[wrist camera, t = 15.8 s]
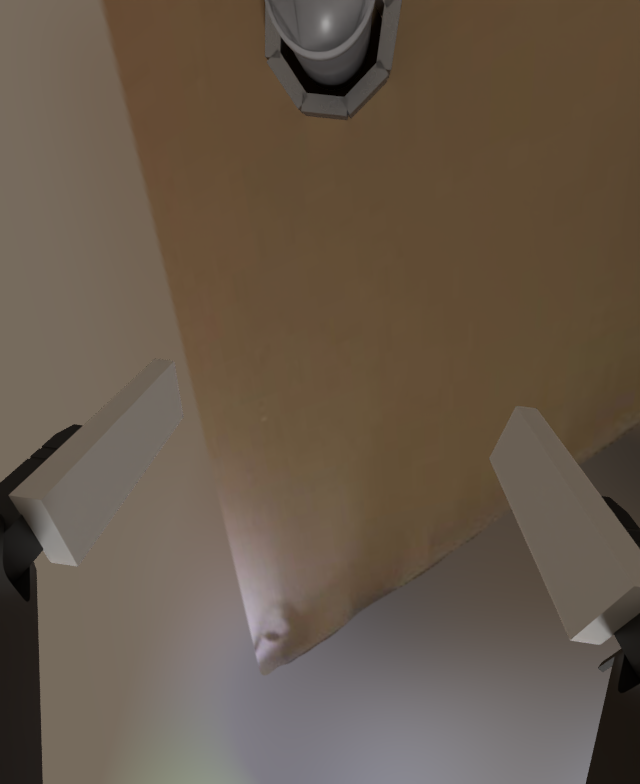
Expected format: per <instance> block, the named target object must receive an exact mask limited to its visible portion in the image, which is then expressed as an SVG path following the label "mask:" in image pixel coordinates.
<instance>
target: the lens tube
mask: <svg viewBox="0 0 640 784" xmlns="http://www.w3.org/2000/svg"><path fill="white" fill-rule="evenodd" d="M375 1H376V0H265V4H266V7H267V10H268V13H269V15H270V18H271V20H272V22H273V24H274V26H275V28H276V30H277V31H278V33H279V35H280V36H281V38H282V39H283V40H284V42H285V43H286V44H287V45H288V46H289V47H290V49H292V50H293V52H294V53H295V55H296V57H297V59H298V60H299V62H300V64H301V66H302V67H303V69H304V71H305V73H306V74H307V76H308V77H309V79H310V80H311V81H312V82H313V83H314V84H316V85H317V86H319V87H320V88H323V89H325V90H339V89H342V88H345V87H346V86H348V85H349V84H351V83H352V82H353V81H354V80H355V79H356V78H357V77H358V75H359V74H360V72H361V71H362V69H363V67H364V65H365V62H366V60H367V56H368V52H369V46H370V33H371V21H372V12H373V9H374V5H375Z"/></svg>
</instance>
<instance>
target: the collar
mask: <svg viewBox="0 0 640 784" xmlns="http://www.w3.org/2000/svg"><path fill="white" fill-rule="evenodd" d="M401 2H402V0H376V1H375V6H376V8H377V10H378V11H379V13H380V15H381V17H382V24H381V31H380V39H379V46H378V54H377V61H376V64H375V65H374V66H373V67H372V68H371V69H370V70H369V71H368V72H367V73H366V74H365V75H364V76H363V78H362V79H361V80H360V81H359V82H358V83H357V84H356V85H355V86H354V87H353V88H352V89H351V90H350V91H349V92H348V94H347V95H346V96H345V97H341V96H332V95H322V94H313V93H307V92H306V91H305V89H304V88H303V86H302V85H301V83H300V82H299V80H298V79H297V77H296V75H295V74H294V72H293V71H292V69H291V68H290V66H289V65H288V63H287V44H286V43H285V42H284V40H283V39H282V38H281V36H280V35H279V33H278V31H277V30H276V28H275V26H274V24H273V22H272V20H271V18H270V15H269V13H268V10H267V7H266V4H265V57H266V58H267V59H268V61H267V63H268V65H269V66H270V68H271V69H272V71H273V72H274V74H275V75H276V77H277V78H278V80H279V81H280V83H281V84H282V86H283V87H284V89H285V90H286V92H287V93H288V95H289V96H290V98H291V99H292V101H293V102H294V104H295V105H296V107H297V108H298V109H299V110H300V111H301V112H302V113H304V114H305V115H306V116H314V117H323V118H332V119H342V120H347V119H348V115H349V117H350V118H352V117H353V116H354V115H355V114H356V113H357V112H358V111H359V110H360V109H361V108H362V107H363V106H364V105H365V104H366V103H367V102H368V101H369V100H370V99H371V98H372V97H373V96H374V95H375V93H376V92H377V91H378V90H379V89H380V88H381V87H382V86H383V85H384V84H385V83H386V82H387V78H389V74H390V71H391V66H392V60H393V54H394V47H395V41H396V34H397V28H398V21H399V15H400V8H401Z"/></svg>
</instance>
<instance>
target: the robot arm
mask: <svg viewBox="0 0 640 784" xmlns="http://www.w3.org/2000/svg"><path fill="white" fill-rule="evenodd" d="M182 418H183V411H182V405H181V399H180V393H179V387H178V381H177V375H176V368H175V362H174V361H171V360H163V359H154V360H153V361H152V362H151V363H150V364H149V365H147V366H146V367H145V368H144V369H143V370H142V371H141V372H140V373H139V374H138V375H137V376H136V377H135V378H133V379H132V380H131V381H130V382H129V383H128V384H127V385H126V386H125V387H124V388H123V389H122V390H121V391H120V392H118V393H117V394H116V395H115V396H114V397H113V398H112V399H111V400H110V401H109V402H108V403H107V404H106V405H105V406H103V408H101V409H100V410H99V411H98V412H97V413H96V414H95V415H94V416H93V417H92V418H91V419H90V420H88V421H87V422H86V423H85V424H84V425H83V426H82V425H75V424H74V425H72V426H70V427H68V428H66V429H64V430H63V431H61V432H59V433H57V434H55V435H54V436H53V437H52V438H51V439H50V440H48V441H47V442H46V443H45V444H44V445H43V446H42V448H41V449H39V450H37V451H36V452H35V453H34V454H33V455H31V458H30V459H27V460H26V461H25V462H23V464H21V465H20V466H19V467H18V468H17V469H15V471H13V472H12V473H11V474H10V475H9V476H7V477H6V478H5V479H4V480H3V481H2V482H1V483H0V784H43V780H42V746H41V712H40V680H39V679H40V677H39V644H38V643H39V642H38V609H37V608H38V607H37V574H36V567H35V565H34V562H33V561H34V560H35V559H36V558H37V556H38V555H39V554H40V553H41V551H42V550H43V551H44V553H45V554H46V556H47V557H48V559H49V560H50V562H52V563H58V564H65V565H72V566H79V564H80V563H81V562H82V560H83V559H84V557H85V556H86V554H87V553H88V552H89V550H90V549H91V547H92V546H93V544H94V543H95V542H96V540H97V539H98V537H99V536H100V535H101V533H102V532H103V530H104V529H105V528H106V526H107V525H108V523H109V522H110V520H111V519H112V517H113V516H114V515H115V513H116V512H117V511H118V509H119V508H120V506H121V505H122V503H123V502H124V501H125V499H126V498H127V496H128V494H129V493H130V492H131V491H132V489H133V488H134V486H135V485H136V483H137V482H138V481H139V479H140V478H141V476H142V475H143V474H144V472H145V471H146V469H147V468H148V467H149V465H150V464H151V462H152V461H153V459H154V458H155V457H156V455H157V454H158V452H159V451H160V450H161V448H162V447H163V445H164V444H165V442H166V441H167V440H168V438H169V437H170V435H171V434H172V432H173V431H174V429H175V428H176V427H177V425H178V424H179V423H180V421H181V419H182ZM489 459H490V462H491V464H492V466H493V468H494V471H495V473H496V475H497V477H498V480H499V482H500V484H501V486H502V489H503V491H504V493H505V495H506V498H507V500H508V502H509V504H510V507H511V509H512V511H513V513H514V516H515V518H516V520H517V522H518V525H519V527H520V529H521V531H522V533H523V536H524V538H525V540H526V542H527V545H528V547H529V549H530V552H531V554H532V556H533V558H534V560H535V563H536V565H537V567H538V570H539V571H540V574H541V576H542V578H543V581H544V583H545V585H546V588H547V590H548V592H549V594H550V596H551V599H552V601H553V603H554V606H555V608H556V610H557V612H558V615H559V617H560V619H561V621H562V623H563V626H564V628H565V630H566V633H567V634H568V637H569V639H570V640H571V641H577V642H584V643H590V644H597V645H600V644H602V643H603V642H605V641H606V640H607V639H609V638H610V637H611V636H612V635H615V637H616V639H617V641H618V643H619V644H620V646H621V648H622V649H620V650H619V651H617V652H616V653H614V654H613V655H612V656H610V657H609V658H607V659H606V660H604V661H603V662H602V663H601V664H600V666H599V667H598V669H599V670H601V671H602V672H604V671H605V670H607V669H608V668H610V667H612V670H611V675H610V679H609V684H608V688H607V692H606V697H605V701H604V706H603V710H602V714H601V719H600V723H599V728H598V732H597V737H596V741H595V745H594V750H593V754H592V759H591V763H590V767H589V772H588V777H587V781H586V784H640V528H639V527H638V526H637V525H636V523H635V522H634V520H633V519H632V518H631V517H630V515H629V514H628V513H627V512H626V511H625V510H624V509H623V508H621V507H620V506H619V505H617V503H616V502H614V501H613V500H612V499H611V498H610V497H603V496H601V495H600V494H599V493H598V491H597V490H596V489H595V487H594V486H593V485H592V483H591V482H590V481H589V479H588V478H587V476H586V475H585V474H584V472H583V471H582V469H581V468H580V467H579V465H578V464H577V463H576V461H575V460H574V459H573V457H572V456H571V454H570V453H569V452H568V450H567V449H566V448H565V446H564V445H563V444H562V442H561V441H560V439H559V438H558V437H557V435H556V434H555V433H554V431H553V430H552V429H551V427H550V426H549V424H548V423H547V422H546V420H545V419H544V418H543V416H542V415H541V414H540V412H539V411H538V410H537V408H529V407H521V406H516V407H515V409H514V411H513V413H512V415H511V417H510V419H509V421H508V423H507V425H506V427H505V429H504V431H503V433H502V434H501V436H500V438H499V440H498V442H497V444H496V446H495V448H494V450H493V452H492V454H491V456H490V458H489Z"/></svg>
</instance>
